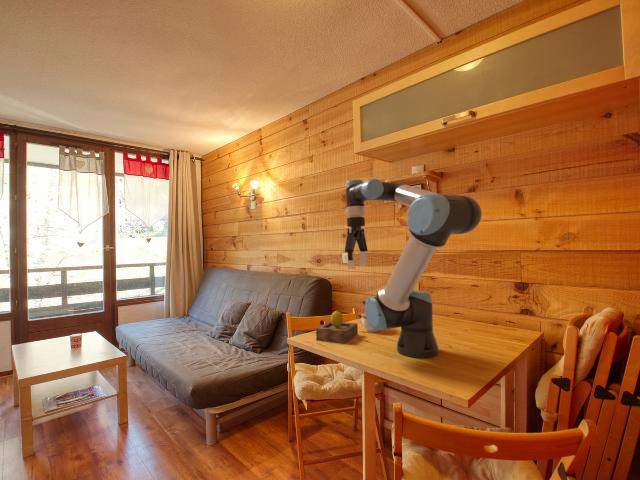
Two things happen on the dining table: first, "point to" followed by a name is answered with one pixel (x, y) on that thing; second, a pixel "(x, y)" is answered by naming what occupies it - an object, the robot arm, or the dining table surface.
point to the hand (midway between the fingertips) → (357, 267)
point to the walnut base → (337, 332)
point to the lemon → (336, 319)
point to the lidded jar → (367, 324)
